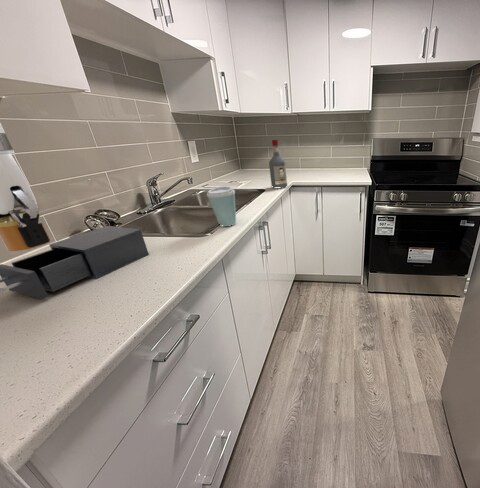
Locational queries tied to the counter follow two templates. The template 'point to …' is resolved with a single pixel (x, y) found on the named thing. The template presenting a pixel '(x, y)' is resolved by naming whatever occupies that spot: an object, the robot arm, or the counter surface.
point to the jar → (13, 234)
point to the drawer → (44, 272)
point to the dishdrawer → (107, 248)
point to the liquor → (277, 168)
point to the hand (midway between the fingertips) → (28, 241)
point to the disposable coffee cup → (223, 204)
